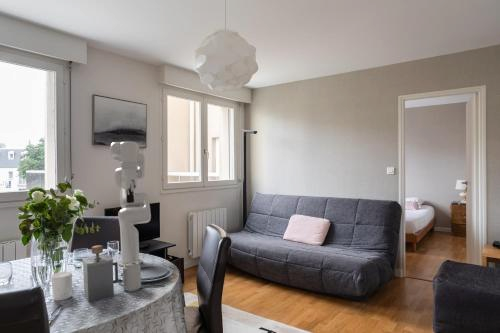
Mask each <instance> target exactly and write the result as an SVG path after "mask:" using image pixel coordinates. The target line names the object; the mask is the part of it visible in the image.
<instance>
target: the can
mask: <svg viewBox="0 0 500 333" xmlns="http://www.w3.org/2000/svg"><path fill="white" fill-rule="evenodd" d="M141 272H142V271H141V263H140V264H139V262H137V261H131V262H127V263H125V264H124V266H122V278H123V290H125V292H136V291H138V290H140V289H141V287H142V273H141Z"/></svg>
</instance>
